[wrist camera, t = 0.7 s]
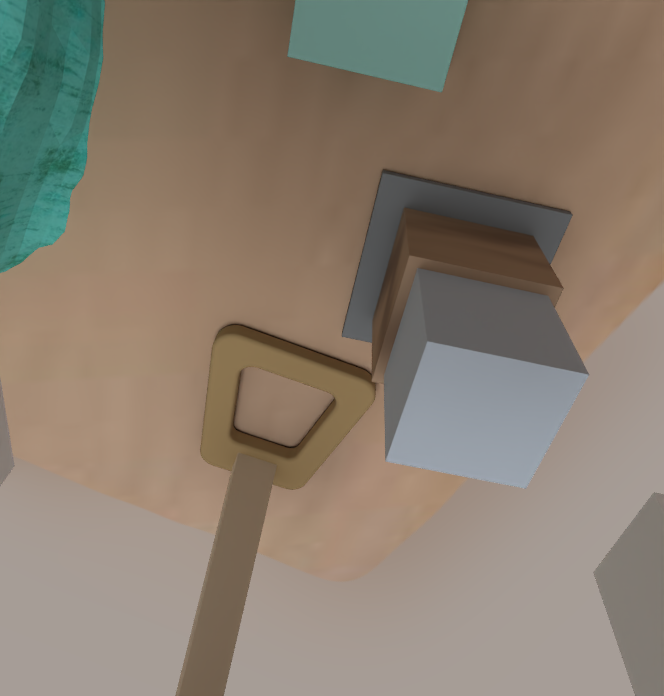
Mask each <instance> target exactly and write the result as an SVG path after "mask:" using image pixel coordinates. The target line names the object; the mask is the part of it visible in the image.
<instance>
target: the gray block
mask: <svg viewBox="0 0 664 696" xmlns="http://www.w3.org/2000/svg"><path fill="white" fill-rule="evenodd" d="M588 376H589V374H588V372H587V370H586V368H585V366H584V364H583V362H582V360H581V358H580V356H579V354H578V352H577V350H576V348H575V346H574V345H573V343H572V341H571V339H570V337H569V335H568V333H567V331H566V329H565V327H564V325H563V323H562V321H561V319H560V317H559V316H558V314H557V312H556V310H555V308H554V306H553V304H552V302H551V300H550V298H549V296H546V295H542V294H537V293H532V292H528V291H523V290H518V289H514V288H509V287H504V286H500V285H495V284H490V283H486V282H481V281H476V280H472V279H467V278H462V277H458V276H453V275H448V274H443V273H439V272H434V271H429V270H425V269H420V268H417V271H416V274H415V278H414V281H413V284H412V287H411V290H410V294H409V297H408V300H407V303H406V306H405V310H404V313H403V316H402V319H401V322H400V326H399V329H398V332H397V335H396V338H395V342H394V345H393V348H392V351H391V354H390V358H389V361H388V364H387V367H386V370H385V374H384V408H385V461H386V462H391V463H397V464H402V465H407V466H412V467H417V468H422V469H428V470H433V471H438V472H443V473H448V474H453V475H459V476H464V477H469V478H474V479H479V480H485V481H489V482H495V483H500V484H505V485H510V486H516V487H521V488H527V486H528V484H529V482H530V480H531V479H532V477H533V475H534V473H535V471H536V469H537V468H538V466H539V464H540V462H541V461H542V459H543V457H544V455H545V453H546V452H547V450H548V448H549V446H550V444H551V442H552V441H553V439H554V437H555V435H556V434H557V432H558V430H559V428H560V426H561V424H562V423H563V421H564V419H565V417H566V415H567V414H568V412H569V410H570V408H571V406H572V405H573V403H574V401H575V399H576V397H577V396H578V394H579V392H580V390H581V388H582V387H583V385H584V383H585V381H586V379H587V378H588Z"/></svg>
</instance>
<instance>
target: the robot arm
mask: <svg viewBox="0 0 664 696" xmlns="http://www.w3.org/2000/svg"><path fill="white" fill-rule="evenodd" d="M13 467H14V460H13V454H12V447H11V441H10V435H9V429H8V423H7V417H6V411H5V405H4V398H3V392H2V386H1V380H0V486H1V484H2V483H3V481H4V480H5V479H6V477H7V476H8V474H9V473H10V472H11V470H12V469H13ZM594 576H595V579H596V581H597V585H598V588H599V591H600V593H601V596H602V599H603V602H604V605H605V608H606V611H607V614H608V617H609V620H610V623H611V626H612V629H613V632H614V635H615V638H616V640H617V643H618V646H619V649H620V652H621V655H622V658H623V661H624V664H625V667H626V670H627V672H628V676H629V679H630V682H631V685H632V688H633V691H634V693H635V696H664V494H659V493H653V494H652V495H651V497H650V498H649V499H648V501H647V502H646V504H645V505H644V506H643V508H642V509H641V510H640V511H639V513H638V514H637V515H636V517H635V518H634V519H633V521H632V522H631V523H630V525H629V526H628V527H627V529H626V530H625V531H624V533H623V534H622V535H621V536H620V538H619V539H618V541H617V542H616V543H615V544H614V546H613V547H612V548H611V550H610V551H609V553H608V554H607V555H606V557H605V558H604V559H603V560H602V562H601V563H600V564H599V566H598V567H597V568H596V570H595V571H594Z"/></svg>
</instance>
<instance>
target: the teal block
mask: <svg viewBox="0 0 664 696" xmlns="http://www.w3.org/2000/svg"><path fill="white" fill-rule="evenodd" d="M467 3H468V0H296V1H295V8H294V15H293V22H292V29H291V35H290V42H289V49H288V56H287V57H291V58H296V59H300V60H304V61H309V62H313V63H317V64H322V65H326V66H330V67H334V68H339V69H343V70H347V71H352V72H356V73H360V74H365V75H369V76H373V77H378V78H382V79H386V80H390V81H395V82H399V83H403V84H408V85H412V86H416V87H421V88H425V89H429V90H433V91H438V92H442V90H443V87H444V83H445V80H446V76H447V73H448V69H449V66H450V62H451V59H452V55H453V52H454V48H455V45H456V41H457V38H458V34H459V31H460V27H461V24H462V20H463V17H464V13H465V10H466V6H467Z"/></svg>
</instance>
